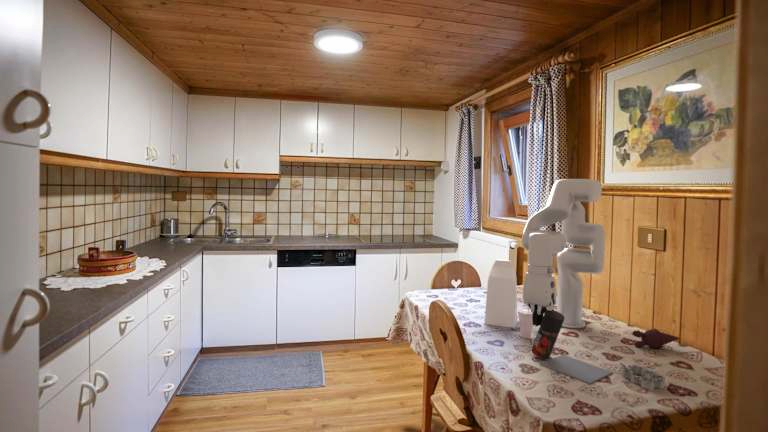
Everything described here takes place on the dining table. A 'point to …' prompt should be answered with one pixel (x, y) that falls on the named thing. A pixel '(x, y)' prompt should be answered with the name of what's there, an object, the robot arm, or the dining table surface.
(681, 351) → the dining table surface
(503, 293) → the milk
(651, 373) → the egg carton
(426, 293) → the dining table surface
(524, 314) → the smoothie
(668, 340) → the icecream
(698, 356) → the dining table surface
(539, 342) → the deodorant
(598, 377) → the felt mat
